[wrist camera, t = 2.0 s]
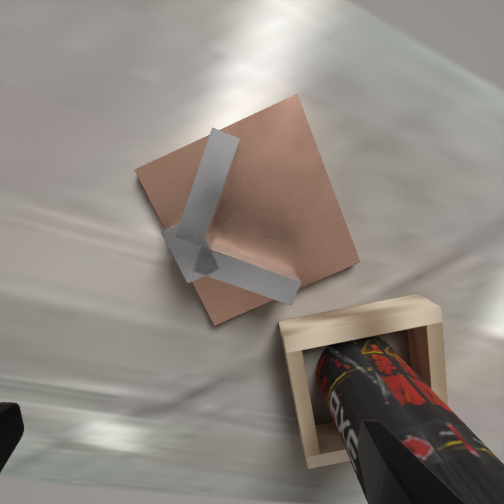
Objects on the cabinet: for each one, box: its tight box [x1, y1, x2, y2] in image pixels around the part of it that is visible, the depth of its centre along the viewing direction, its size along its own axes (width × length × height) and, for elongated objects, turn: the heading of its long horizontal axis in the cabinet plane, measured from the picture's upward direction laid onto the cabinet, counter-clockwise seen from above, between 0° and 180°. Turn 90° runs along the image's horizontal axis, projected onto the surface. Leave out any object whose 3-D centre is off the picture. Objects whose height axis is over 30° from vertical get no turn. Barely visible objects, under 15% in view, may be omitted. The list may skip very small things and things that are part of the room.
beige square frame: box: [279, 294, 448, 469], centre depth 21 cm, size 10×10×2 cm
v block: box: [135, 94, 360, 326], centre depth 18 cm, size 10×11×3 cm
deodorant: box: [317, 336, 504, 504], centre depth 15 cm, size 6×6×15 cm
